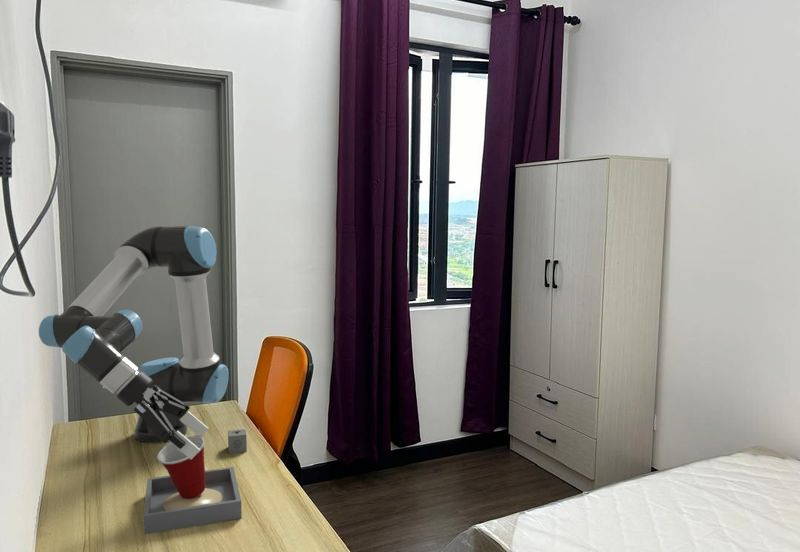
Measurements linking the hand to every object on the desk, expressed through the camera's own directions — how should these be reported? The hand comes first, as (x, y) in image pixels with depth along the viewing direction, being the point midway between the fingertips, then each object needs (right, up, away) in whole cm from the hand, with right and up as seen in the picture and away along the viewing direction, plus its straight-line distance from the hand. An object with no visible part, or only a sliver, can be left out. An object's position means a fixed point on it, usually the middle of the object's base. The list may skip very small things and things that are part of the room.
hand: (200, 443), depth 139 cm
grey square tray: (-2, -15, +1) cm, 15 cm away
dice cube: (-1, -12, +36) cm, 38 cm away
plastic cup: (-3, -13, +4) cm, 14 cm away
